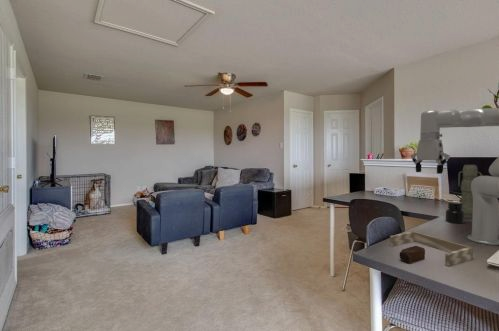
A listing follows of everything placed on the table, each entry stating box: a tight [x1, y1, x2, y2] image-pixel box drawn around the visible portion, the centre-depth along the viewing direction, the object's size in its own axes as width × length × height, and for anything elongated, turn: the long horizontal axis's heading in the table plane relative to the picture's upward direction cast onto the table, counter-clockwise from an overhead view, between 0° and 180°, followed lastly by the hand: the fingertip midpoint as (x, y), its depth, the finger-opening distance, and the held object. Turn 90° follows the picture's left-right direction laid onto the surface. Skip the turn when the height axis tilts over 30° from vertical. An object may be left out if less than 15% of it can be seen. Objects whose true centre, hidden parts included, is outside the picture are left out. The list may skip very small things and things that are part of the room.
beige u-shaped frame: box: [389, 231, 474, 267], centre depth 112 cm, size 17×24×4 cm
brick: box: [398, 245, 426, 264], centre depth 104 cm, size 11×4×5 cm, turn 116°
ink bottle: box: [445, 201, 465, 224], centre depth 160 cm, size 10×9×12 cm
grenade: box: [457, 164, 483, 220], centre depth 171 cm, size 9×12×35 cm
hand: (428, 172), depth 124 cm, fingers open, 9 cm apart
